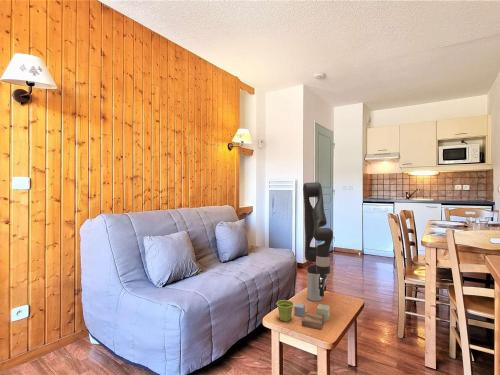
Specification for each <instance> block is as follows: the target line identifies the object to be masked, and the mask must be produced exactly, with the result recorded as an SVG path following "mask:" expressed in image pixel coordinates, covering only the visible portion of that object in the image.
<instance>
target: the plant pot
mask: <svg viewBox="0 0 500 375" xmlns="http://www.w3.org/2000/svg"><path fill="white" fill-rule="evenodd" d="M276 306H277V309H278V316H279V320H280V321H283V322H286V323H287V322H290V321H291V320H292V313H293V312H292V311H293V309H294V306H295V305H294V302H293V301H291V300H289V299H288V300H287V299H281V300H277V302H276Z"/></svg>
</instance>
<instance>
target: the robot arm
mask: <svg viewBox="0 0 500 375" xmlns="http://www.w3.org/2000/svg"><path fill="white" fill-rule="evenodd" d="M322 187H323V186H322V184H321V183H320V182H318V181H316V182H315V181H313V182H304V184H303V186H302V192H303V206H304V220H303V221H304V239H305V240H304V259H305V260H306V262H314V263H315V262H316V263H315V264H311V265H309V266H307V268H306V276H307V277H306V278H307V279H306V281H307V285H306V287H307V288H306V290H307V292H306V297H307V300H308V301H311V302H320V301H322V299H323V297H324V296H325V292H326V291H327V283H328V275H329V274H330V273H331V258H330V256H331V255H330V253H331V252H330V249H331V245H332V241H333V237H334V232H333V229H331V228H330V227H324V226H326V225H327V223H328V222H327V217H326V214H325V209H324V208H325V206H324V194H323V188H322ZM310 198H317V200H316V203H315V205H314V207H313V205H312V204H311V201H310ZM312 240H315V241H317V242H324V243H321V244H317V246H311V243H312Z"/></svg>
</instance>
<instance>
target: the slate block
mask: <svg viewBox="0 0 500 375" xmlns="http://www.w3.org/2000/svg"><path fill="white" fill-rule="evenodd" d="M293 310H294V311H293V315H294V316H296V317H301V318H303V317H304V314H305V312H306V304H305V303H304V304H303V303H298V302H296V303H295V305H293Z"/></svg>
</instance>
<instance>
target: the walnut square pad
mask: <svg viewBox="0 0 500 375" xmlns="http://www.w3.org/2000/svg"><path fill="white" fill-rule="evenodd" d="M324 323H325V320H324V315H319V314H317V313H312V312H306V311H305V314H304V316H303V317H302V319H301V327H304V328H305V327H306V328H309V329H310V328H311V329H315V330H321V331H322V330H323V329H322V328H323V325H324Z"/></svg>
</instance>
